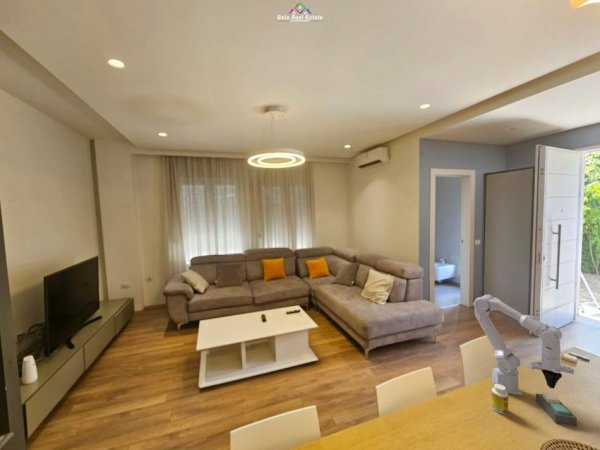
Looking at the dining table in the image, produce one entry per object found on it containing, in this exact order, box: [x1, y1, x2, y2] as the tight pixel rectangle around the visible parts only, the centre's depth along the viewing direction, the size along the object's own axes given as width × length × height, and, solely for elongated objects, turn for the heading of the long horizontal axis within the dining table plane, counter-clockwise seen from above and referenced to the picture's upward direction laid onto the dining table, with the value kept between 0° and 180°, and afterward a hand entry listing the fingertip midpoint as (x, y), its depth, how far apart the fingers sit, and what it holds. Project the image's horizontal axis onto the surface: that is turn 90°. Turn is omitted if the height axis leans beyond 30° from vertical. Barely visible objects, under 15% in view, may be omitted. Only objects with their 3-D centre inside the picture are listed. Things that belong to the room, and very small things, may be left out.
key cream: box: [541, 391, 561, 404], centre depth 108 cm, size 4×4×2 cm
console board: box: [535, 398, 578, 427], centre depth 105 cm, size 7×12×1 cm, turn 164°
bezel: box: [535, 393, 578, 425], centre depth 105 cm, size 7×12×2 cm, turn 164°
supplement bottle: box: [491, 384, 509, 415], centre depth 108 cm, size 6×6×10 cm
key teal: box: [550, 403, 571, 415], centre depth 103 cm, size 4×4×2 cm
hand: (550, 386), depth 108 cm, fingers closed
